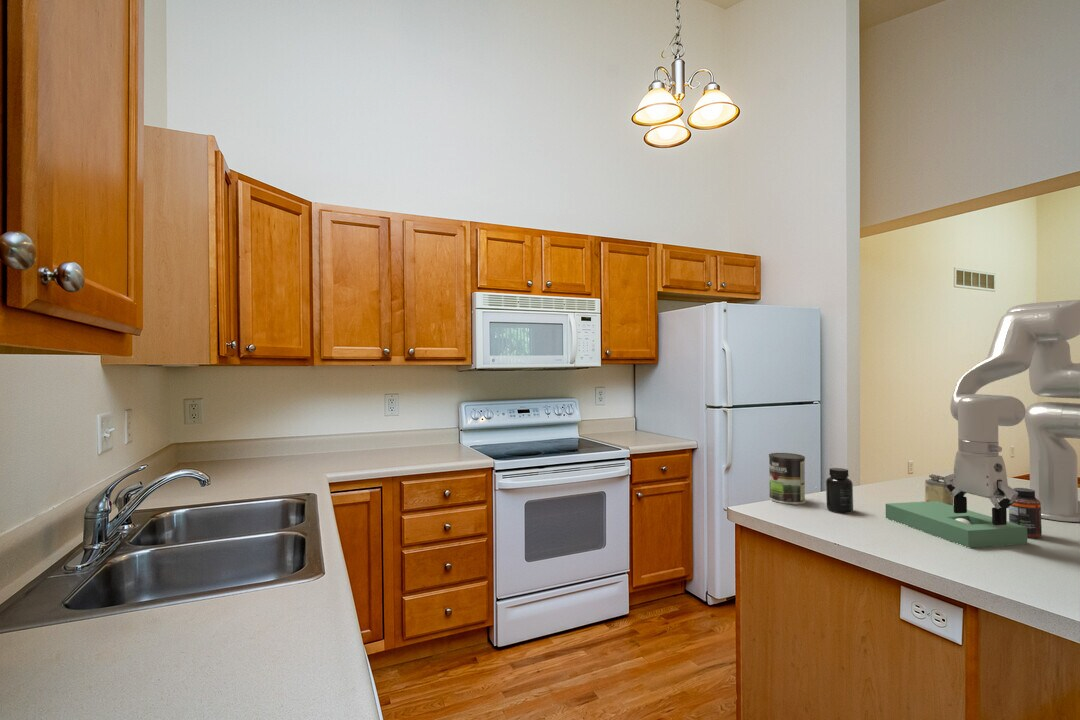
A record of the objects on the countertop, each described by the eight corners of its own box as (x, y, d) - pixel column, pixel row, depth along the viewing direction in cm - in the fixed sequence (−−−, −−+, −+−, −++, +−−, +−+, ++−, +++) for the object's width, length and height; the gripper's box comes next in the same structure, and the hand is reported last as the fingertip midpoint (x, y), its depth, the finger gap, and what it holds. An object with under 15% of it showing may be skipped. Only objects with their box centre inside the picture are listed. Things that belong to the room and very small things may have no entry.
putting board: (936, 515, 147) (936, 500, 147) (1027, 544, 124) (1027, 527, 124) (885, 518, 145) (885, 503, 145) (968, 548, 121) (968, 530, 121)
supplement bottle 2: (1033, 532, 132) (1032, 487, 132) (1047, 539, 126) (1046, 492, 126) (1004, 530, 134) (1003, 485, 134) (1016, 537, 128) (1015, 491, 128)
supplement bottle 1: (853, 509, 154) (853, 468, 154) (853, 515, 148) (852, 472, 148) (827, 506, 158) (826, 466, 158) (825, 511, 152) (824, 470, 152)
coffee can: (788, 506, 158) (788, 459, 158) (762, 498, 167) (761, 454, 167) (813, 502, 162) (812, 456, 162) (785, 494, 171) (785, 451, 171)
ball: (962, 534, 132) (959, 517, 133) (978, 535, 128) (975, 518, 129) (949, 534, 131) (946, 517, 132) (965, 535, 127) (961, 518, 128)
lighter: (922, 507, 156) (921, 473, 156) (930, 505, 157) (929, 472, 157) (949, 513, 149) (948, 478, 149) (956, 511, 151) (956, 477, 151)
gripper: (1029, 453, 119) (1030, 528, 119) (958, 442, 136) (959, 508, 136) (1000, 454, 118) (1002, 530, 118) (932, 443, 135) (933, 509, 135)
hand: (979, 518), depth 127 cm, fingers open, 9 cm apart
